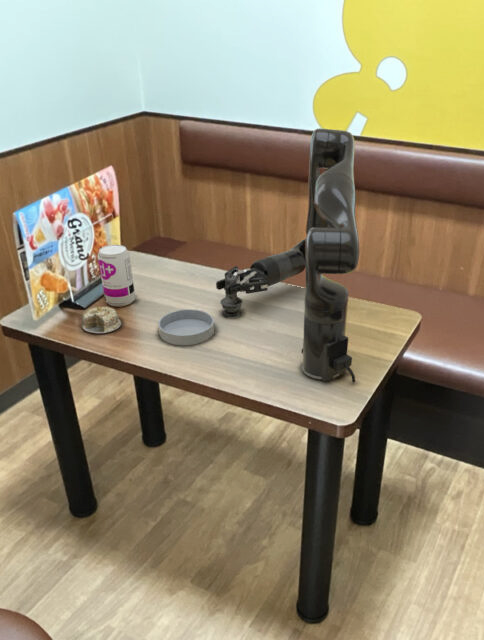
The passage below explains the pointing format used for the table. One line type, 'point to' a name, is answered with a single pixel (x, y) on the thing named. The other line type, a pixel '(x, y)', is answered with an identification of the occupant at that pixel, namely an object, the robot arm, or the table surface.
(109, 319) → the cake
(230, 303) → the dark grey chess piece
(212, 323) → the tin
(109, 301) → the supplement can
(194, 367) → the table surface
